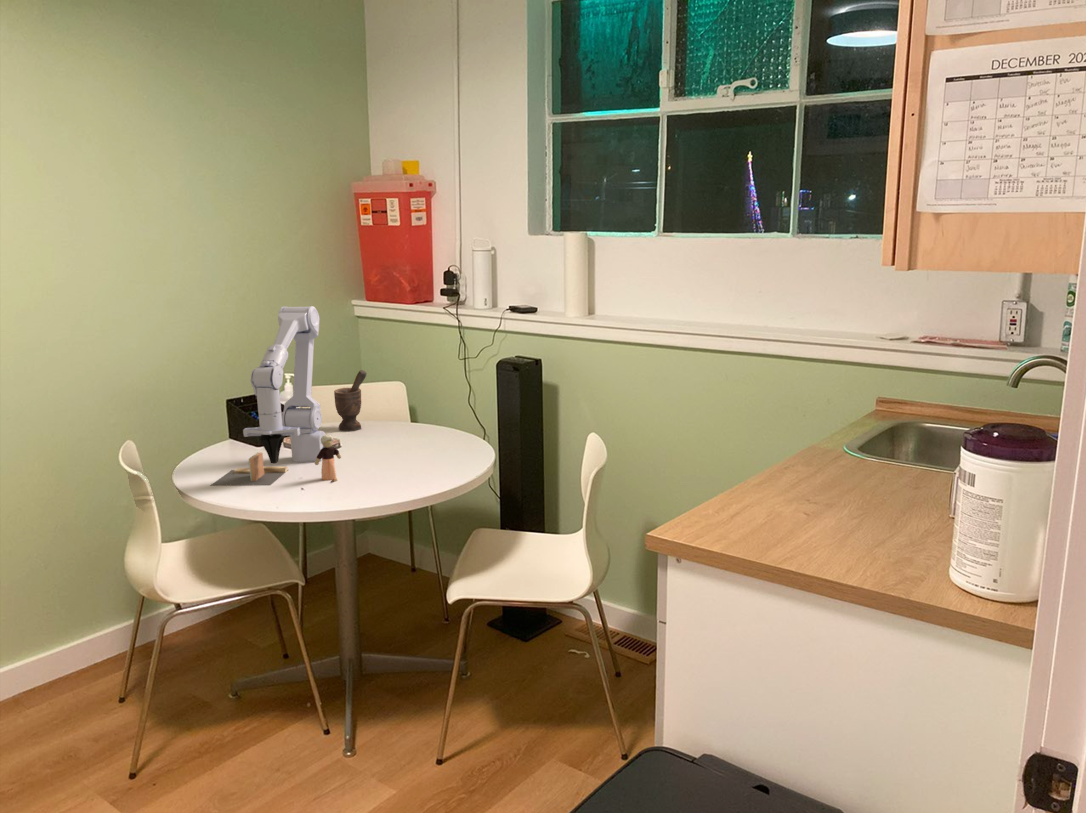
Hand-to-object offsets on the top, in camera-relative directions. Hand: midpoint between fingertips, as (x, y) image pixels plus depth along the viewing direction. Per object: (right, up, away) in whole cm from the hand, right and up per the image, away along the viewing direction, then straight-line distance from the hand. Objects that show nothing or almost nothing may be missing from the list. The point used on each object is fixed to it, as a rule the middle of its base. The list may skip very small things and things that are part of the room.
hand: (274, 462), depth 230 cm
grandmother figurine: (+15, -5, -1) cm, 16 cm away
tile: (-5, -4, +1) cm, 6 cm away
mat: (-7, -5, +2) cm, 9 cm away
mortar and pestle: (+9, +7, +55) cm, 57 cm away
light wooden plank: (-7, -3, +6) cm, 10 cm away
